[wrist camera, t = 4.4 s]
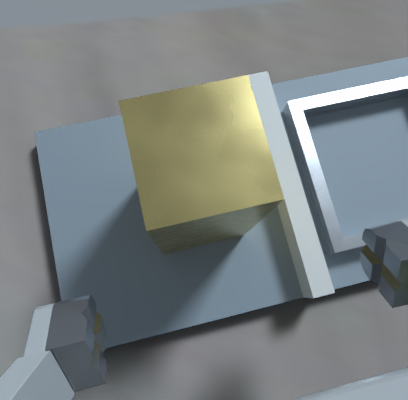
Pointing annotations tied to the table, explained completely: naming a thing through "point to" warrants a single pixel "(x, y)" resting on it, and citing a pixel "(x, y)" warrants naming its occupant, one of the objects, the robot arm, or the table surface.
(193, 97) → the block
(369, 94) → the frame
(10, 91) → the table surface
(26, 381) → the robot arm
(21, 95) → the table surface
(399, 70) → the plate
